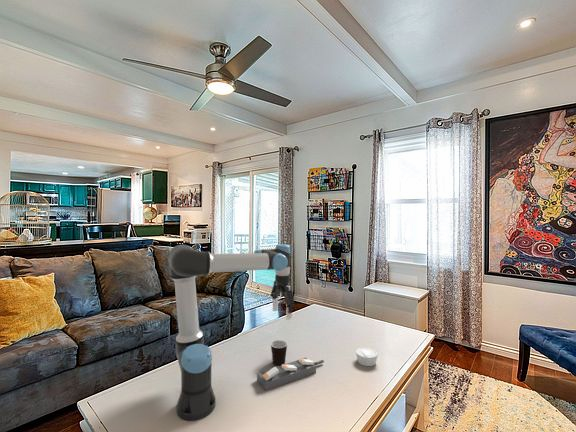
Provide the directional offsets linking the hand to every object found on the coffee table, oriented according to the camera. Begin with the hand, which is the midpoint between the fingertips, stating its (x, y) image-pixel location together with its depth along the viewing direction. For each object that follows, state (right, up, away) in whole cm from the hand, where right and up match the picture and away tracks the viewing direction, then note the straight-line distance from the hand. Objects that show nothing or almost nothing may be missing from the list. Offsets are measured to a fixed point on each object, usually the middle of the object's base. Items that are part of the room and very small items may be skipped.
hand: (281, 314), depth 149 cm
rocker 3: (+12, -21, -7) cm, 25 cm away
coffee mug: (-1, -26, +3) cm, 26 cm away
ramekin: (+45, -27, +4) cm, 53 cm away
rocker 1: (-5, -21, -17) cm, 28 cm away
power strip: (+6, -26, -8) cm, 28 cm away
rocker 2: (+4, -21, -12) cm, 25 cm away
